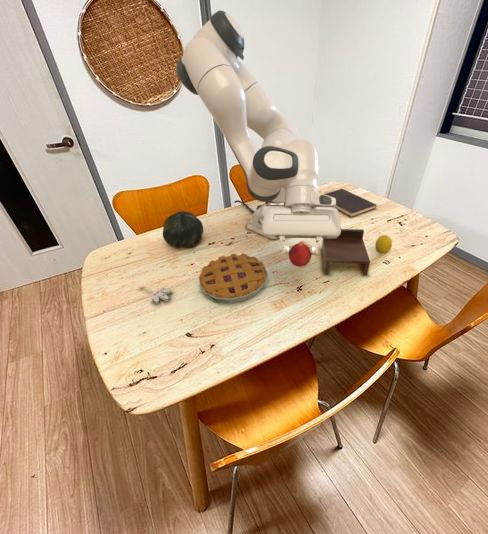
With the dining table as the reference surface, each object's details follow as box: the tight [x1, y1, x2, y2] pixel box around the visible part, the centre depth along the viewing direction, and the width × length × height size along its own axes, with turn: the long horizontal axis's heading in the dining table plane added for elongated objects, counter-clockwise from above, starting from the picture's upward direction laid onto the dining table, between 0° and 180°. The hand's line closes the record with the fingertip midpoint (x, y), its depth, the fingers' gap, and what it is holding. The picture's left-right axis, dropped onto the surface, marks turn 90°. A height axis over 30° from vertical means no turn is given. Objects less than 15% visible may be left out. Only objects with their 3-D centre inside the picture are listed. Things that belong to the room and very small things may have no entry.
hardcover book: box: [323, 188, 377, 218], centre depth 135 cm, size 16×23×2 cm
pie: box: [198, 253, 269, 304], centre depth 89 cm, size 22×22×5 cm
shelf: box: [321, 228, 371, 277], centre depth 96 cm, size 15×14×9 cm
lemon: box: [374, 234, 393, 255], centre depth 100 cm, size 6×6×8 cm
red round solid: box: [288, 240, 313, 268], centre depth 72 cm, size 6×6×8 cm
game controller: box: [140, 287, 171, 305], centre depth 86 cm, size 6×12×3 cm, turn 79°
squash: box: [162, 210, 204, 249], centre depth 106 cm, size 14×15×15 cm
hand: (300, 254), depth 71 cm, fingers closed on red round solid, 6 cm apart
